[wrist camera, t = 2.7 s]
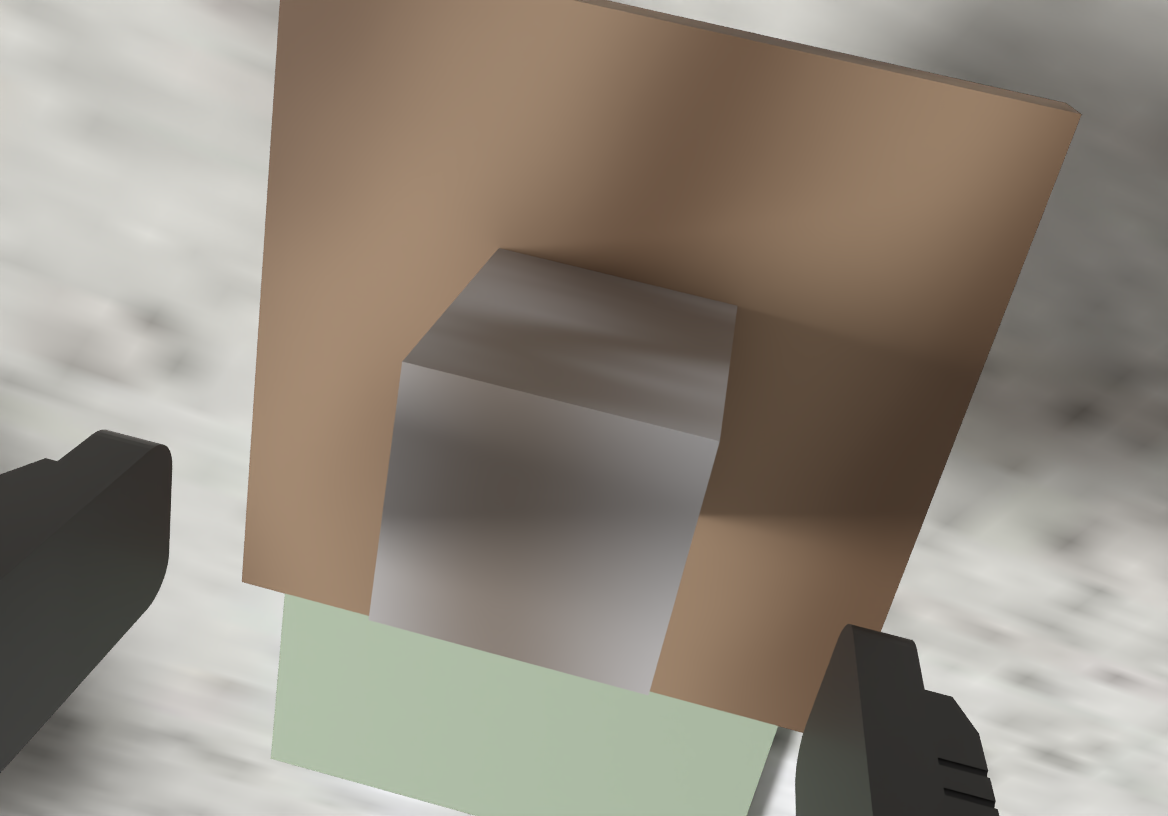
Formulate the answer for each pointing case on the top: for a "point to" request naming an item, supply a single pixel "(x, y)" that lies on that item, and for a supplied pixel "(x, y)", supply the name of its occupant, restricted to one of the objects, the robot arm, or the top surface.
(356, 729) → the mat
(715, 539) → the lid
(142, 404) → the top surface
